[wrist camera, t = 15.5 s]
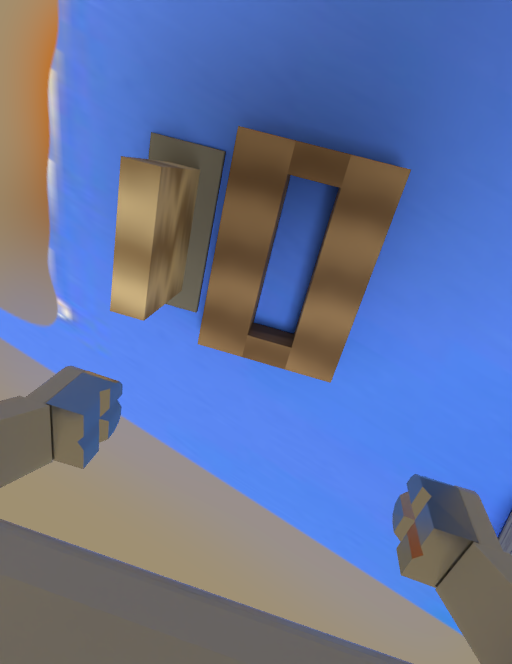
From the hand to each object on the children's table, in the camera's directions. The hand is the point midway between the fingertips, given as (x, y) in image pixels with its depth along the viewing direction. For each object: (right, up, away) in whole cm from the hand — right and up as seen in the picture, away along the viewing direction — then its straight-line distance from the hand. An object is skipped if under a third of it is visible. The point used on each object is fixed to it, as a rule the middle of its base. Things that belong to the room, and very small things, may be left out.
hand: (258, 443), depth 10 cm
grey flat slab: (-8, +13, +27) cm, 31 cm away
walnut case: (+4, +10, +26) cm, 28 cm away
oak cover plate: (-8, +13, +26) cm, 30 cm away
